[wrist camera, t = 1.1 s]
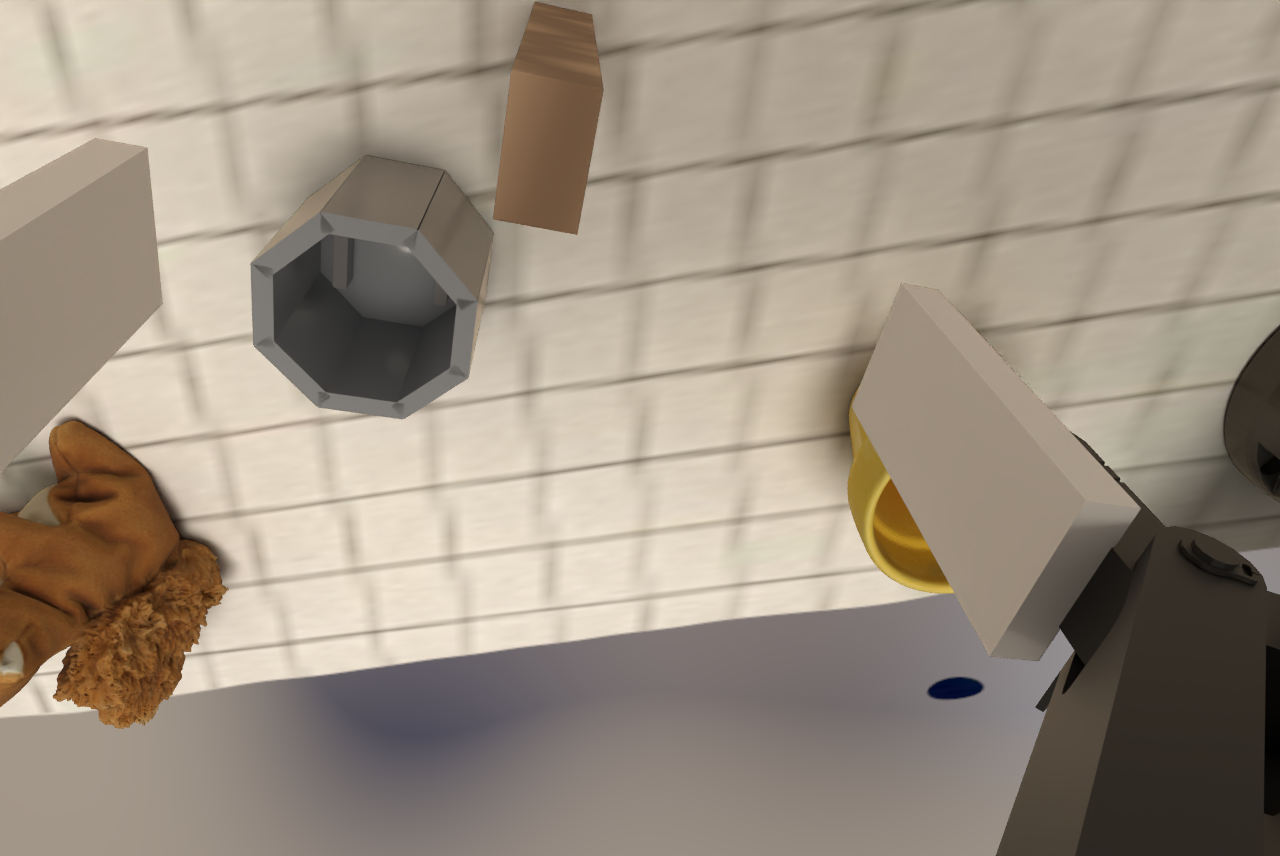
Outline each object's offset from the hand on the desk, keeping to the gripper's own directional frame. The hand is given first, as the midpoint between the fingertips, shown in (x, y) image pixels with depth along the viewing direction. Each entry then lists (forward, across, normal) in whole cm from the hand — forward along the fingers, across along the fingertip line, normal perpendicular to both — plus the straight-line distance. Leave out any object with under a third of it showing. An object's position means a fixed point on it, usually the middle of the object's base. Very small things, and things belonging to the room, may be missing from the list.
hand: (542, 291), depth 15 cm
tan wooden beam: (+25, 0, 0) cm, 25 cm away
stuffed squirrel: (+26, +20, +30) cm, 44 cm away
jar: (+25, +6, +10) cm, 28 cm away
